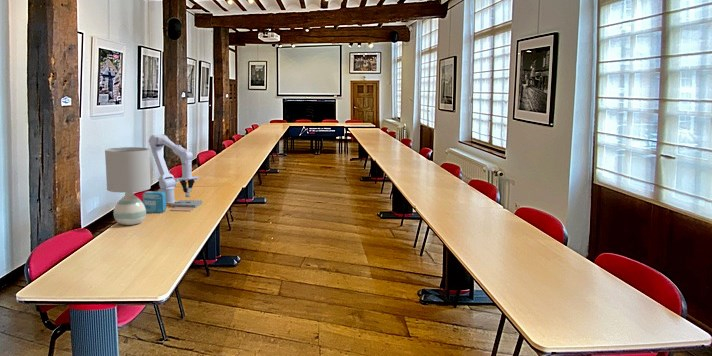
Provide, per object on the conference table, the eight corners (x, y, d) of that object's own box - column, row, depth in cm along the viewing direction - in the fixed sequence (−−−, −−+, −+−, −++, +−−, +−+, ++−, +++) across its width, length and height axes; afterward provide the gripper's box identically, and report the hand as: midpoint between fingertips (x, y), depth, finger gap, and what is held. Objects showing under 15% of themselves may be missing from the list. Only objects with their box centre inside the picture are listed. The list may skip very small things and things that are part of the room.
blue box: (143, 212, 320) (142, 192, 318) (146, 210, 324) (145, 191, 322) (163, 213, 319) (162, 193, 317) (166, 211, 324) (165, 191, 322)
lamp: (99, 225, 288) (95, 150, 281) (129, 217, 308) (126, 146, 301) (131, 230, 280) (128, 152, 274) (160, 221, 300) (157, 148, 294)
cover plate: (172, 207, 334) (172, 204, 334) (180, 202, 348) (180, 199, 348) (195, 208, 334) (195, 205, 334) (202, 203, 348) (202, 200, 348)
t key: (183, 196, 342) (182, 186, 341) (186, 195, 344) (186, 186, 343) (188, 197, 337) (188, 188, 336) (192, 197, 339) (191, 188, 338)
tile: (170, 210, 325) (170, 209, 325) (175, 207, 333) (175, 207, 333) (190, 211, 325) (190, 210, 325) (194, 208, 333) (194, 207, 333)
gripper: (178, 172, 330) (179, 194, 332) (200, 170, 340) (201, 191, 342) (173, 170, 335) (174, 192, 337) (195, 168, 345) (195, 189, 347)
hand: (187, 191), depth 340 cm, fingers closed on t key, 3 cm apart
